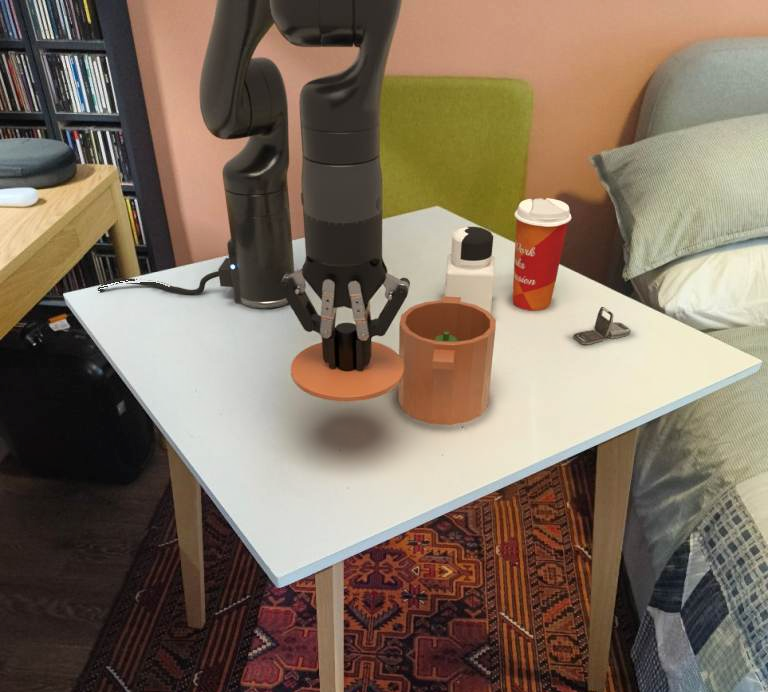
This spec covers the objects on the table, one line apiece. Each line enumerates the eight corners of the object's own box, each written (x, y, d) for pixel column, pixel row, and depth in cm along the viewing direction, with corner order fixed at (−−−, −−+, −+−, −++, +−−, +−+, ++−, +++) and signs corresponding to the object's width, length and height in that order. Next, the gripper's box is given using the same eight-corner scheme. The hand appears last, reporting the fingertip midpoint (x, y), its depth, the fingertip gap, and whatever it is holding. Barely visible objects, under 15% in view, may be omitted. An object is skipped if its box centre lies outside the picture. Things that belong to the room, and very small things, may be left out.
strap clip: (619, 326, 116) (624, 299, 113) (631, 335, 113) (637, 308, 111) (571, 337, 113) (576, 310, 110) (583, 346, 111) (588, 319, 108)
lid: (279, 401, 81) (275, 352, 77) (304, 344, 90) (300, 297, 86) (397, 410, 79) (398, 361, 76) (409, 351, 89) (410, 304, 85)
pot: (391, 437, 94) (392, 352, 86) (405, 367, 106) (407, 288, 99) (485, 443, 93) (494, 359, 85) (488, 372, 105) (496, 293, 98)
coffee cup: (500, 292, 125) (510, 197, 115) (550, 290, 125) (564, 195, 115) (511, 315, 118) (522, 217, 108) (564, 313, 119) (580, 215, 109)
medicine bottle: (490, 298, 123) (497, 223, 115) (490, 319, 117) (498, 241, 110) (445, 296, 123) (449, 221, 116) (443, 316, 118) (447, 239, 110)
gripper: (419, 194, 75) (414, 353, 86) (279, 187, 76) (292, 344, 87) (412, 223, 69) (407, 388, 80) (260, 214, 70) (276, 379, 82)
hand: (347, 364), depth 84 cm, fingers closed on lid, 2 cm apart
